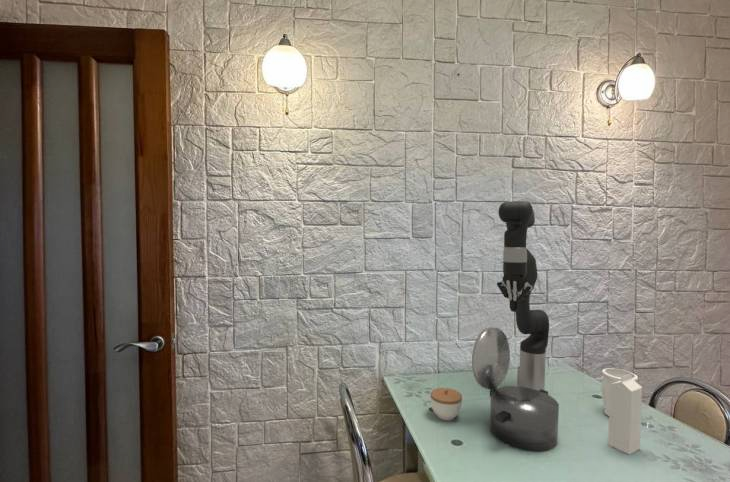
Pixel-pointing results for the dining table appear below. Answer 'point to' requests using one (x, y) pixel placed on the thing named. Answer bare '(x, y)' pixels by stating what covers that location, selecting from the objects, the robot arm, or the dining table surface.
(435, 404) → the lidded jar
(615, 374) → the jar
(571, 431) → the dining table surface
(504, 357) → the lid
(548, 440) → the cooker pot
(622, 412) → the milk
